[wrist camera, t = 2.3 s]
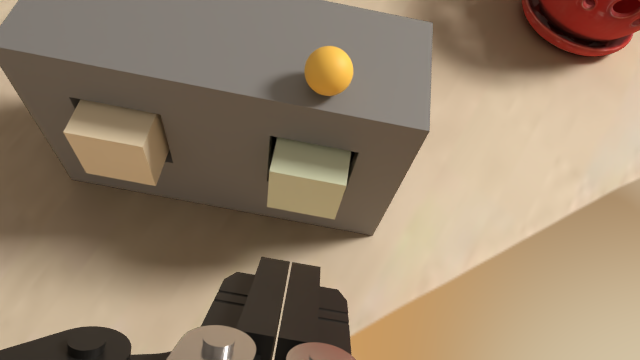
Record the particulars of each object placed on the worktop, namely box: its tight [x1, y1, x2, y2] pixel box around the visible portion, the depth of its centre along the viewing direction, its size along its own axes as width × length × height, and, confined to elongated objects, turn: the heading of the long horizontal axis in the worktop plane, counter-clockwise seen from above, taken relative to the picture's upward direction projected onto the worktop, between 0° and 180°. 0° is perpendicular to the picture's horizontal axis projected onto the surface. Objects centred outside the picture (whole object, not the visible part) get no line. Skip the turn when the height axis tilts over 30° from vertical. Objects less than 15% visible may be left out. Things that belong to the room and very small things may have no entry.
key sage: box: [267, 137, 351, 220], centre depth 29 cm, size 4×4×4 cm
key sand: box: [63, 99, 169, 186], centre depth 28 cm, size 4×4×4 cm
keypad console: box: [0, 0, 433, 236], centre depth 30 cm, size 8×22×15 cm, turn 82°
